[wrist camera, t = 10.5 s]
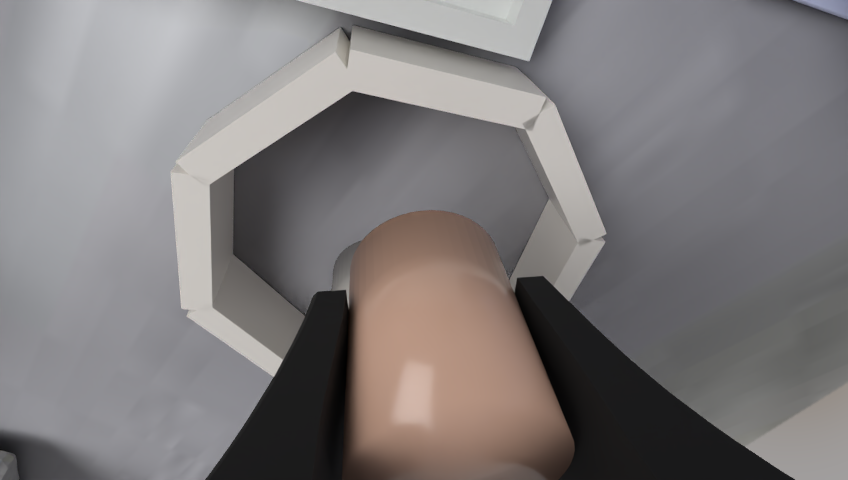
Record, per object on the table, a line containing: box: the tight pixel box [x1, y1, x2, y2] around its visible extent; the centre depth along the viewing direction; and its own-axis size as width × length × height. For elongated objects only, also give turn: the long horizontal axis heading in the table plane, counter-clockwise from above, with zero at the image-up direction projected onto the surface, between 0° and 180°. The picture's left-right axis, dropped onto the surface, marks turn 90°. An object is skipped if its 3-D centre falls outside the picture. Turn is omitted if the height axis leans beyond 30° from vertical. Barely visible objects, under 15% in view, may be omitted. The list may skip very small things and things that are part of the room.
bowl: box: [171, 25, 607, 377], centre depth 16 cm, size 14×14×3 cm
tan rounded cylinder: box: [342, 210, 575, 480], centre depth 9 cm, size 4×4×5 cm
